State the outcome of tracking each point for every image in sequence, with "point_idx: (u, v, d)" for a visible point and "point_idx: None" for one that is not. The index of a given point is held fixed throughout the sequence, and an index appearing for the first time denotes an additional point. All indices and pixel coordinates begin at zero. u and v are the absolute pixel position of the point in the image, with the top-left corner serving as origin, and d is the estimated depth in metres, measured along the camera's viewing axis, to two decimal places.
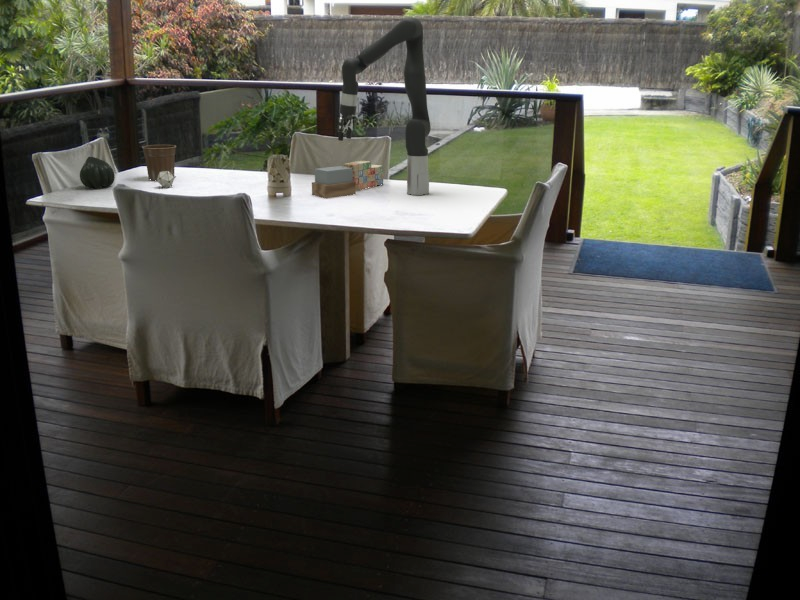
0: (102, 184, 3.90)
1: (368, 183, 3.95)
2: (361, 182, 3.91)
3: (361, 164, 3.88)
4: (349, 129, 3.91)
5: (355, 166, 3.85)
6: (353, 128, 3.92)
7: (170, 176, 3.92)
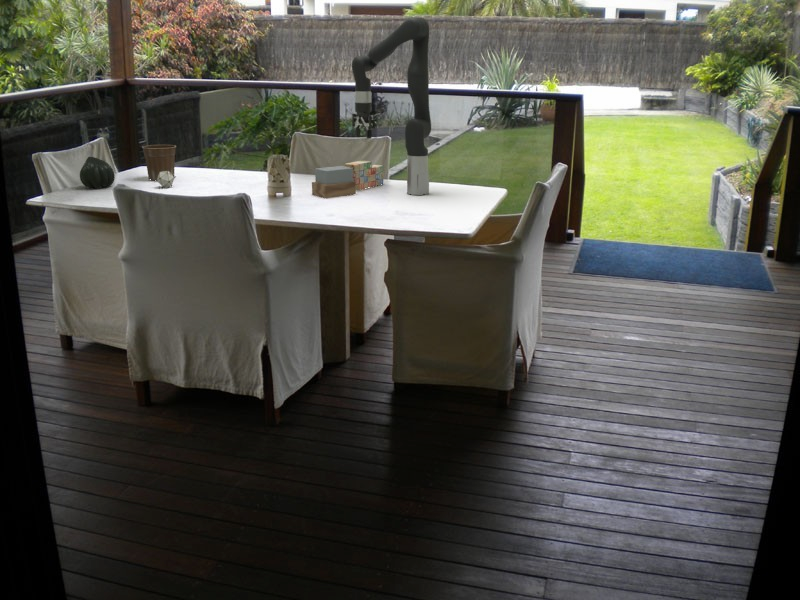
0: (102, 184, 3.90)
1: (369, 183, 3.95)
2: (362, 182, 3.91)
3: (362, 164, 3.88)
4: (358, 127, 3.92)
5: (356, 166, 3.85)
6: None
7: (170, 176, 3.92)
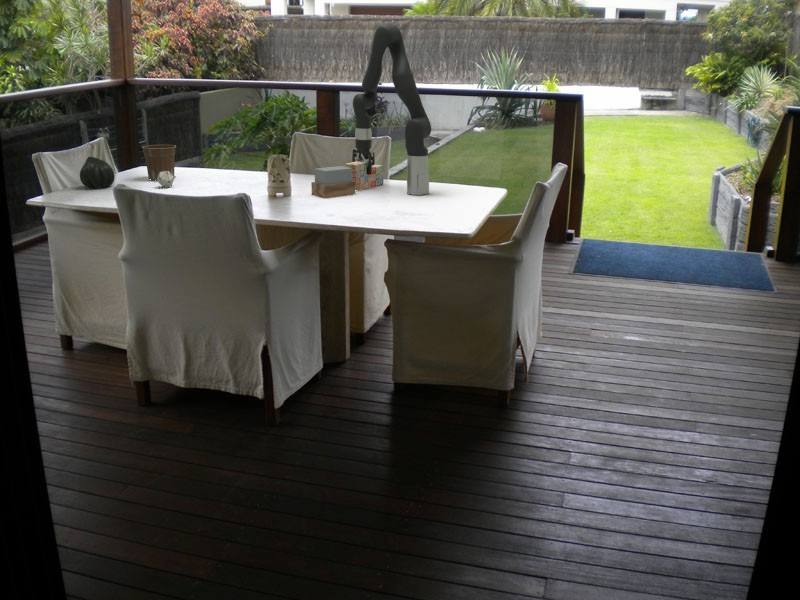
0: (102, 184, 3.90)
1: (369, 183, 3.96)
2: (363, 182, 3.91)
3: (362, 164, 3.89)
4: None
5: (357, 166, 3.85)
6: None
7: (170, 176, 3.92)
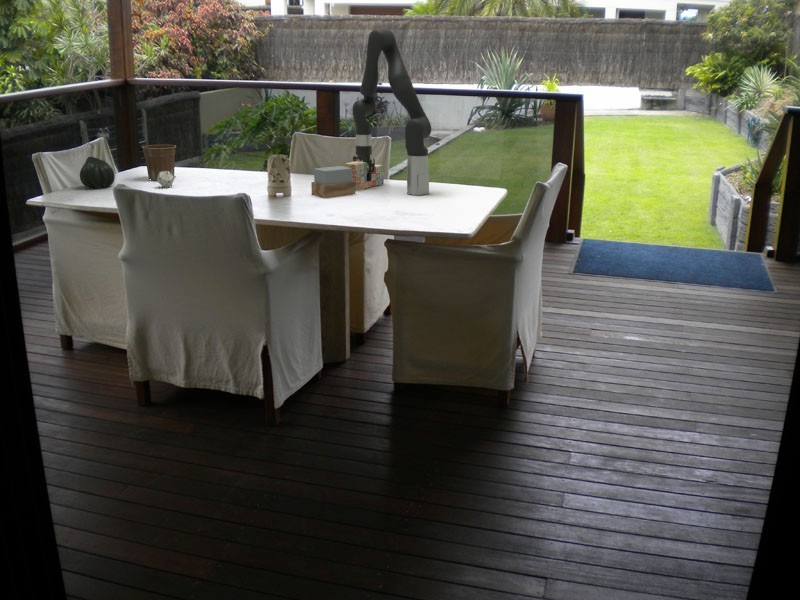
0: (102, 184, 3.90)
1: (369, 183, 3.96)
2: (363, 181, 3.91)
3: (362, 164, 3.89)
4: None
5: (357, 166, 3.86)
6: None
7: (170, 176, 3.92)
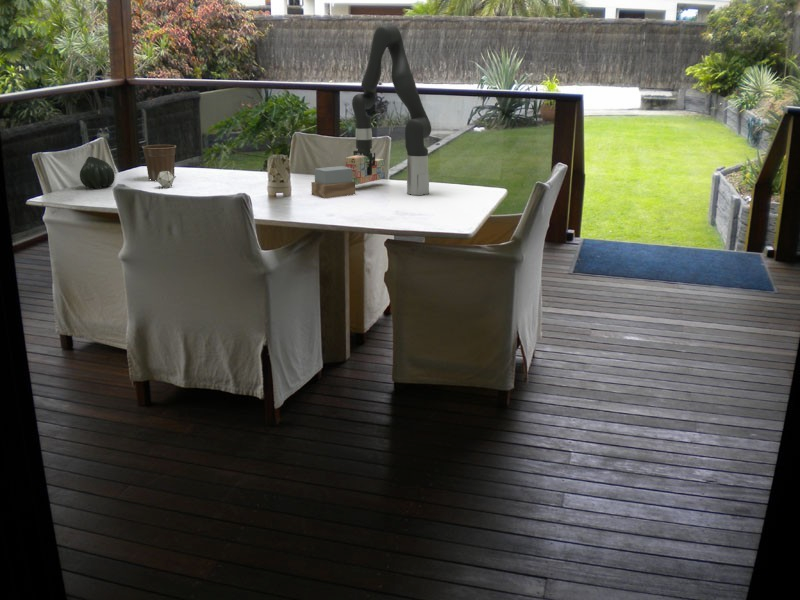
0: (102, 184, 3.90)
1: (370, 177, 3.95)
2: (363, 175, 3.90)
3: (363, 157, 3.88)
4: None
5: (357, 159, 3.85)
6: None
7: (170, 176, 3.92)
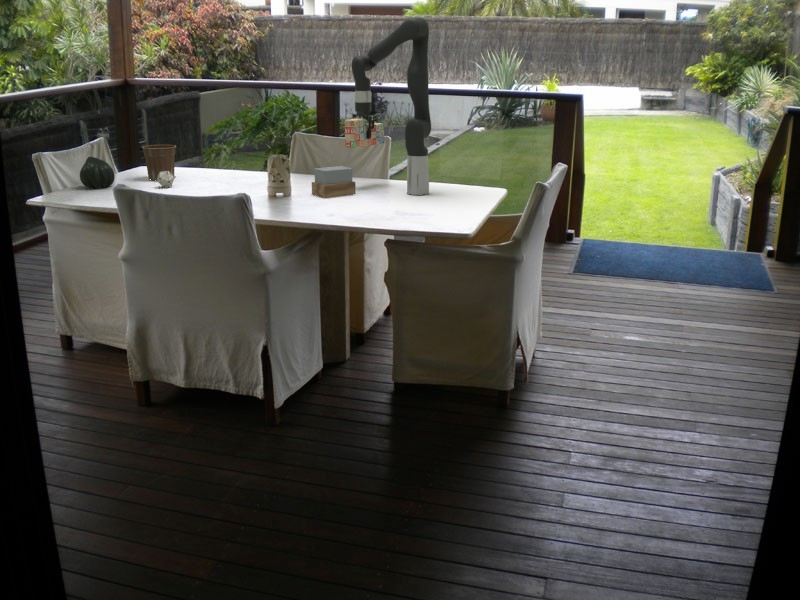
0: (102, 184, 3.90)
1: (369, 140, 3.90)
2: (362, 138, 3.85)
3: (362, 120, 3.83)
4: None
5: (356, 122, 3.80)
6: None
7: (170, 176, 3.92)
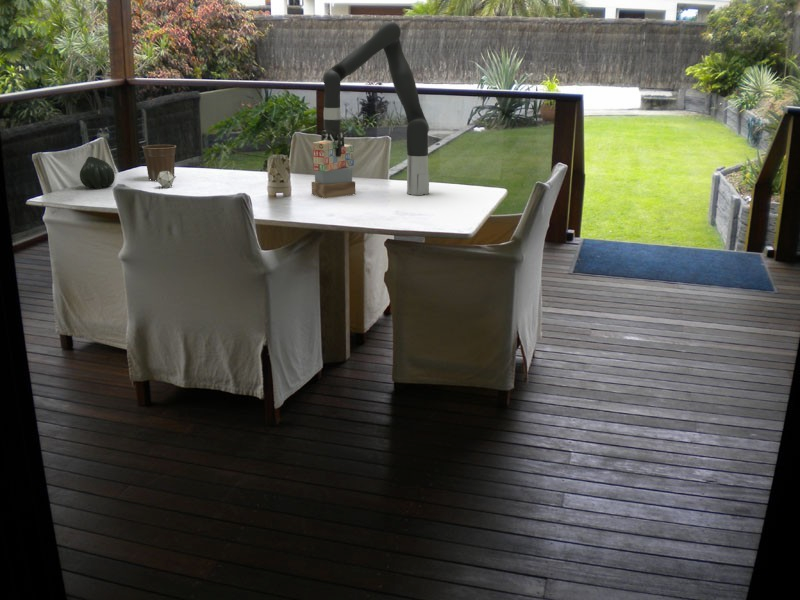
0: (102, 184, 3.90)
1: (339, 163, 3.74)
2: (331, 162, 3.70)
3: (331, 143, 3.67)
4: None
5: (325, 145, 3.64)
6: None
7: (170, 176, 3.92)
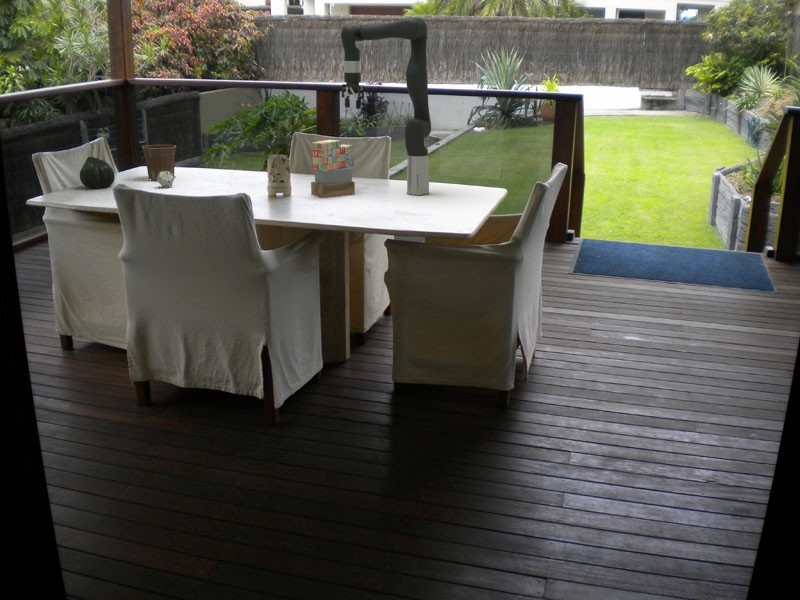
0: (102, 184, 3.90)
1: (338, 163, 3.75)
2: (330, 162, 3.70)
3: (330, 143, 3.67)
4: (347, 98, 3.90)
5: (323, 145, 3.64)
6: None
7: (170, 176, 3.92)
